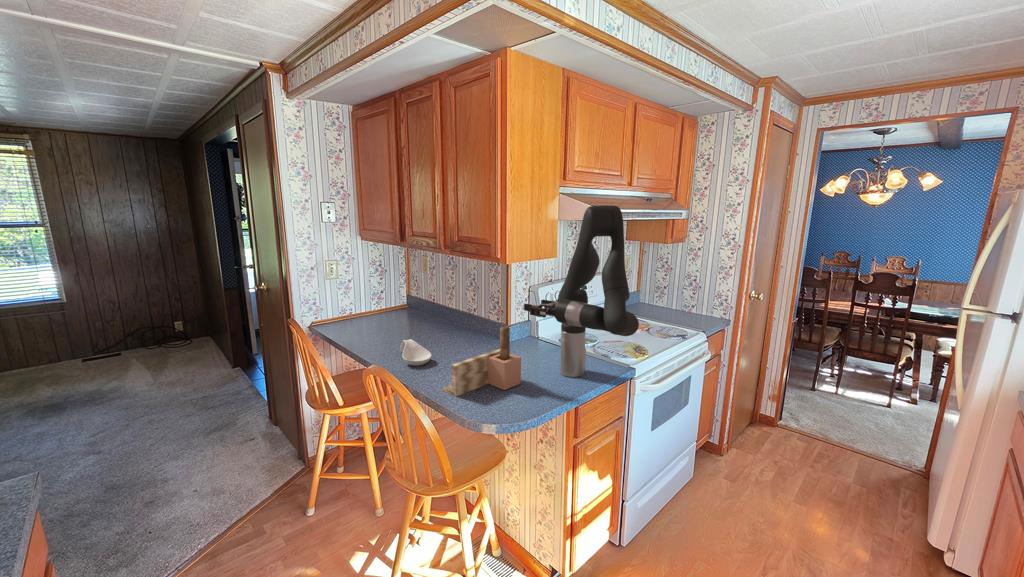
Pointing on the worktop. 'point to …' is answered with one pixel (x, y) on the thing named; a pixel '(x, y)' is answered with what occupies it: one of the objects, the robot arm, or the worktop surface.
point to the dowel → (504, 343)
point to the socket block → (504, 371)
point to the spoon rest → (414, 353)
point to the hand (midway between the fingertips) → (533, 304)
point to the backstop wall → (469, 374)
